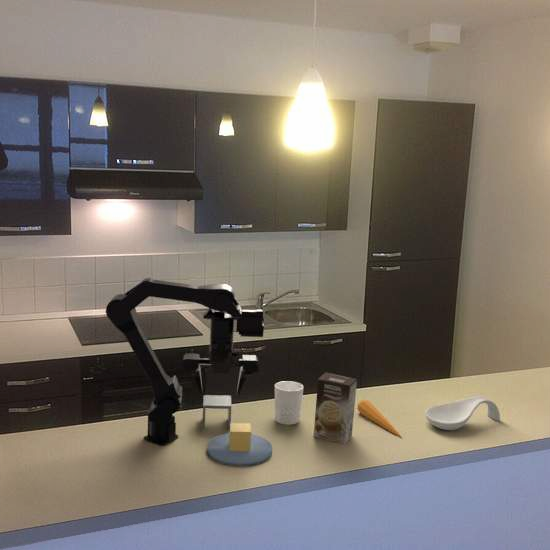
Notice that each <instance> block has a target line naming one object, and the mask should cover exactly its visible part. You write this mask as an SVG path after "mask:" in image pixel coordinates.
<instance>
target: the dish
mask: <svg viewBox="0 0 550 550" xmlns="http://www.w3.org/2000/svg"><path fill="white" fill-rule="evenodd" d="M206 449H207V450H206V452H207V455H208V456H209V457H210V458H211V459H212V460H214V461H215V462H218V463H220V464H224V465H228V466H236V467H246V466H247V467H249V466H250V467H251V466H254V465H255V466H256V465H259V464H261V463H264V462H266V461H267V460H269V459H270V458H271V457H272V453H273V445H272V443H271V442H270V441H269V440H268V439H266V438H265V437H262V436H260V435H256V434H252V433H251V446H250V451H230V432H229V433H225V434H220V435H218V436H214V437H212V438H211V439H210V440H209V441H208V443H207V447H206Z"/></svg>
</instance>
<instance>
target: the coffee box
mask: <svg viewBox="0 0 550 550" xmlns="http://www.w3.org/2000/svg"><path fill="white" fill-rule="evenodd" d="M357 384H358V379H357V378H353V377H350V376H344V375H340V374H336V373H331V372H324V373H323V374H322V375H321V376H320V377H319V378H318V379H317V386H316V387H317V389H316V398H315V399H316V402H315V414H314V428H313V437H316V438H320V439H323V440H327V441H332V442H335V443H338V444H339V443H340V444H343V445H346V443H348V441H349V440H350V439H351V438H352V436H353V428H354V427H353V426H354V416H355V405H356V396H357V395H356V393H357Z"/></svg>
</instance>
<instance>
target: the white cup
mask: <svg viewBox="0 0 550 550" xmlns="http://www.w3.org/2000/svg"><path fill="white" fill-rule="evenodd" d="M303 396H304V385H303V384H302V383H301V382H298V381H290V380H286V381H284V380H282V381H279V382H276V383H275V384H274V420H275V421H276V422H277V423H278V424H282V425H285V426H286V425H287V426H288V425H290V426H292V425H296V424H299V423H300V421H301V419H300V418H301V411H302V403H303Z"/></svg>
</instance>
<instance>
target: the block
mask: <svg viewBox="0 0 550 550" xmlns="http://www.w3.org/2000/svg"><path fill="white" fill-rule="evenodd" d="M229 433H230V451H250V446H251V434H252V425H251V423H233V422H231V423H230V430H229Z"/></svg>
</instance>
